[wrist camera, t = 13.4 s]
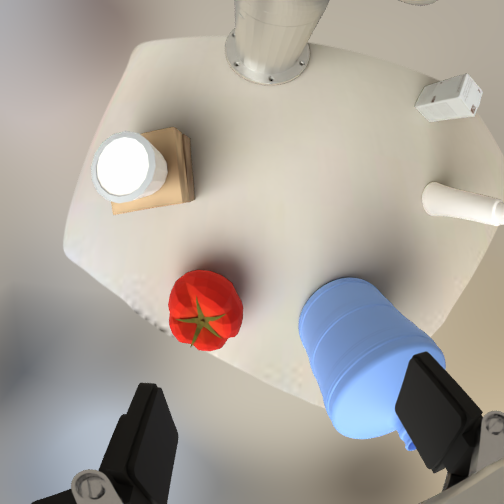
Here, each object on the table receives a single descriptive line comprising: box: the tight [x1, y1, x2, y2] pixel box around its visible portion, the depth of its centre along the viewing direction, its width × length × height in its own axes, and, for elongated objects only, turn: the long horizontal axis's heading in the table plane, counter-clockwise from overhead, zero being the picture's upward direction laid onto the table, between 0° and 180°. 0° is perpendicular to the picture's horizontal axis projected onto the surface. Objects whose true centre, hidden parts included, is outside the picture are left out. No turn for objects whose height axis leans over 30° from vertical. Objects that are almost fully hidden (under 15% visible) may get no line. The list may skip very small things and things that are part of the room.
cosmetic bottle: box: [422, 182, 504, 226], centre depth 30 cm, size 6×6×22 cm
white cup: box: [91, 131, 168, 203], centre depth 26 cm, size 7×7×7 cm
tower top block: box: [111, 127, 189, 215], centre depth 32 cm, size 9×9×4 cm
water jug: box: [299, 278, 446, 451], centre depth 32 cm, size 16×16×28 cm
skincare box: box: [415, 73, 483, 122], centre depth 31 cm, size 6×4×12 cm
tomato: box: [168, 270, 243, 351], centre depth 39 cm, size 11×12×9 cm
